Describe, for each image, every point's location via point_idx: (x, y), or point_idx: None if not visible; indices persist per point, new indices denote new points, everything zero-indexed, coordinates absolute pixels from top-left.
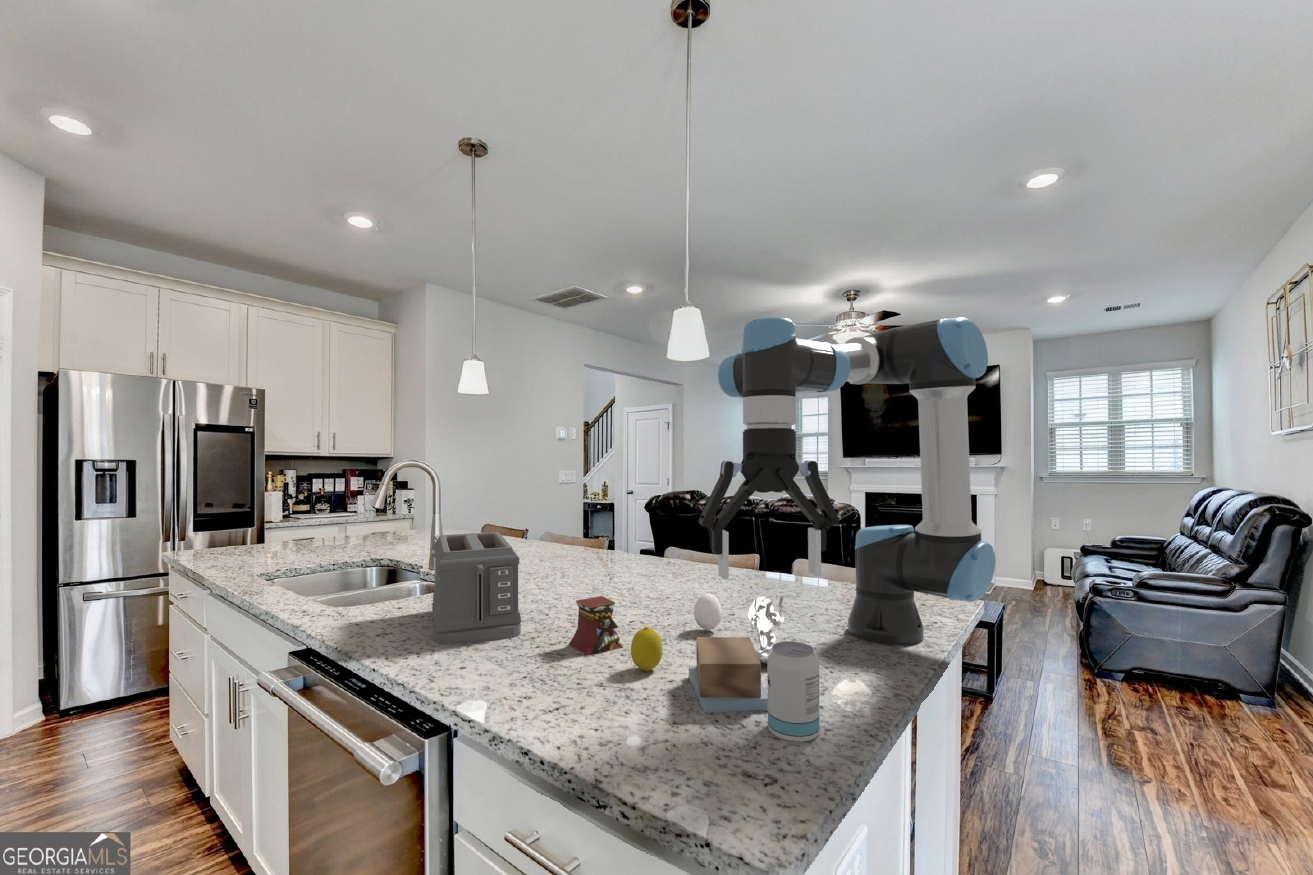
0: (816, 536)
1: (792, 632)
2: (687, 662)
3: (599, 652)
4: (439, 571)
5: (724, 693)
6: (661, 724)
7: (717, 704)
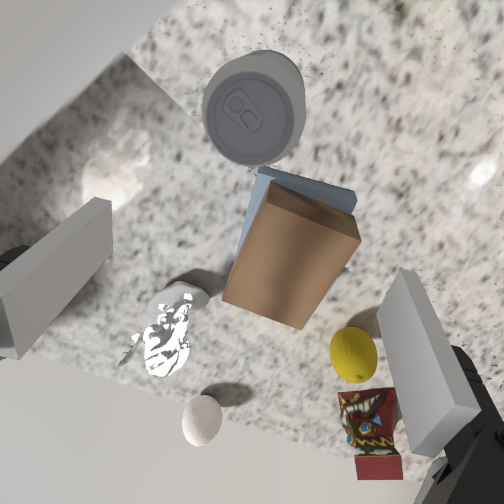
0: (20, 277)
1: (105, 354)
2: (283, 334)
3: (375, 392)
4: None
5: (321, 204)
6: (419, 199)
7: (337, 193)
